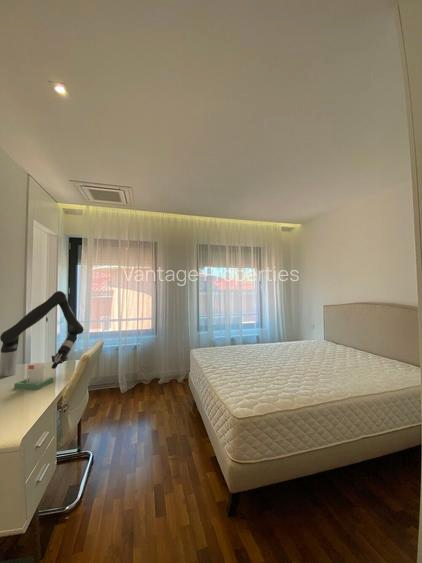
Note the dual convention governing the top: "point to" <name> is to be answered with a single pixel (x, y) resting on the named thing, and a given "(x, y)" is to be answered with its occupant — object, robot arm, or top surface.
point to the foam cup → (36, 373)
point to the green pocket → (26, 385)
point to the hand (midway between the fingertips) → (53, 368)
